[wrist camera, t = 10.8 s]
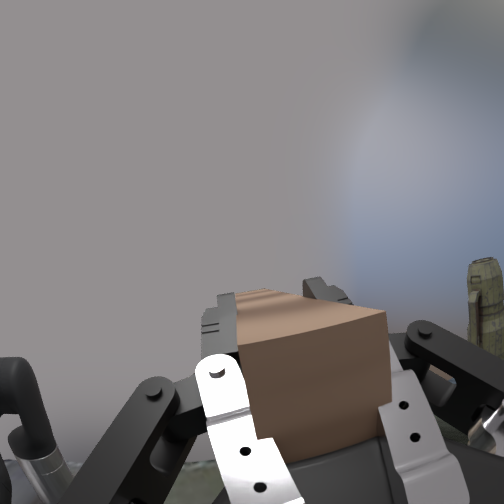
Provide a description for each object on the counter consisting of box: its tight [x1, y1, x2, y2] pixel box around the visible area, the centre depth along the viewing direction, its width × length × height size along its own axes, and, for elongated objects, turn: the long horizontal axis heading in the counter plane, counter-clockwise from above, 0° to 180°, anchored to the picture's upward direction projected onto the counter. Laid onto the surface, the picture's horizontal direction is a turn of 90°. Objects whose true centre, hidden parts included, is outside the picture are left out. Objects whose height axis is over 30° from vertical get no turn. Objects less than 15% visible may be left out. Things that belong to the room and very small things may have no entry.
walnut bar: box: [235, 289, 392, 464], centre depth 17 cm, size 24×3×3 cm, turn 4°
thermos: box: [467, 257, 504, 360], centre depth 36 cm, size 9×12×35 cm
